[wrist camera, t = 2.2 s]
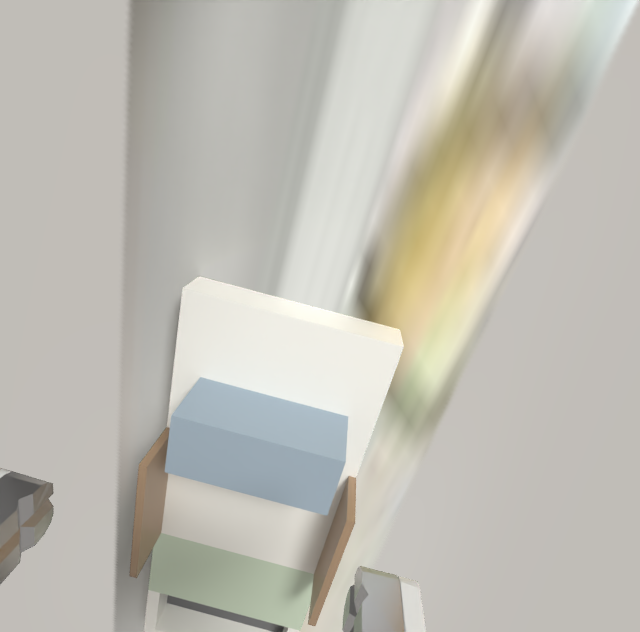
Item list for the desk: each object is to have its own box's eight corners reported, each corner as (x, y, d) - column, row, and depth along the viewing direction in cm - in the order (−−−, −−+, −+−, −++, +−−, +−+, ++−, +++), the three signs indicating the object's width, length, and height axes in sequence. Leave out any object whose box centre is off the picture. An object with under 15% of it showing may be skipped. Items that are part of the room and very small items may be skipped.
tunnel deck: (199, 276, 25) (151, 309, 19) (399, 329, 25) (410, 378, 19) (157, 603, 37) (120, 681, 32) (290, 639, 37) (277, 724, 31)
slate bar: (200, 377, 24) (171, 415, 21) (348, 416, 24) (345, 461, 21) (192, 427, 26) (164, 472, 22) (332, 465, 26) (327, 515, 22)
